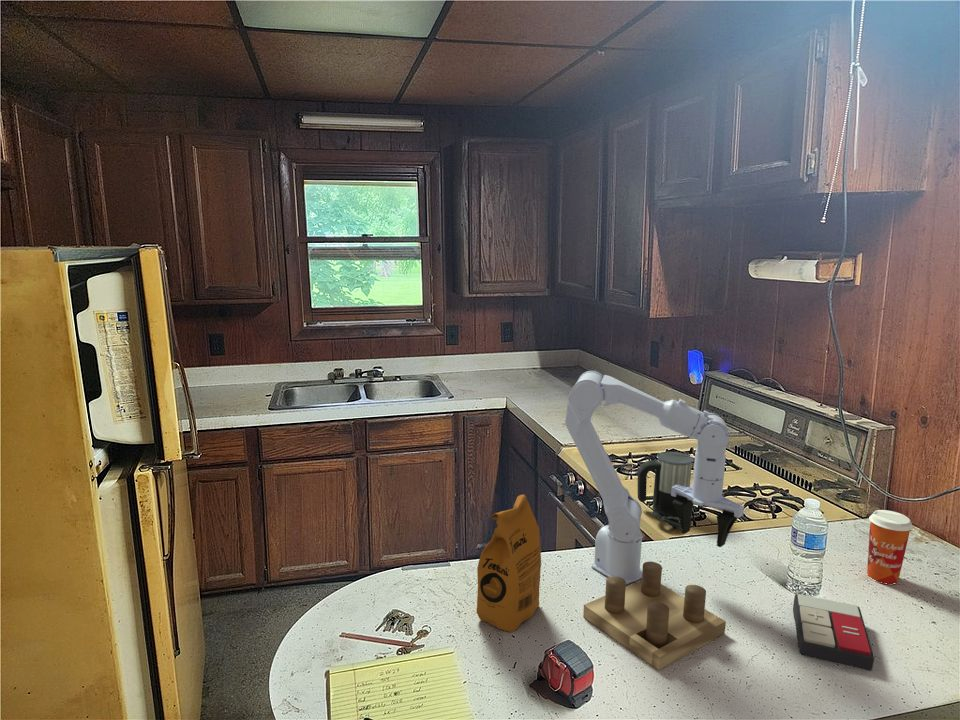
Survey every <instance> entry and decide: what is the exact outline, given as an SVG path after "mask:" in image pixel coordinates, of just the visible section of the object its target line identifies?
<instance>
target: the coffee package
mask: <svg viewBox="0 0 960 720" xmlns="http://www.w3.org/2000/svg"><path fill="white" fill-rule="evenodd" d="M491 519H492V520H496V525H497V526H496V528H494V531H493V532H492V533H493V534H492V536H491V539H490V541H488V542H487V543H486V545H485V547H484V548H483V550H482V551H481V554H480V556H479V559H478V563H477V567H476V568H477V569H476V570H477V573H476V574H477V596H476V611H475V612H476V615H477V616H478V617H477V618H478V619H479V620H480V621H481V622H483V621H484V622H485V623H487V624H489V625H491V626H493V625H494V626H495V627H497V629H499V630H500V631H505V632H509V631H510V633H513V632H516V630H517V629H518V628H519V626H521V624H522V623H523V622H524V621H528V620H530V619H531V618H532V617H533V615H534V614H535V612H536V611H537V608H538V607H539V606H540V583H541V569H542V553H541V552H542V547H541V544H542V543H541V536H540V535H541V534H540V527H539V525H538V523H537V522H538V521H537V519H536V517H535V516H534V513H533V510H532V508H531V506H530V503H529V501H528V499H527V496H526V495H525V494H519V495H518V496H517V497H516V500H515V502H514V504H513V508H510V509H507V510H502V511H499V512H495V513H493V514H492V515H491Z"/></svg>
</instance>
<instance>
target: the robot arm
mask: <svg viewBox="0 0 960 720" xmlns="http://www.w3.org/2000/svg"><path fill="white" fill-rule="evenodd" d="M603 401H604V407H607V406H608V407H609V406H612V405H615V404H623V405H624V406H628V407H631V408H633V409H635V410H638V411H640V412H643V413H646V414H649V415H651V416H654V417H656V418H658V420H659V423H660V425H661V427H664V428H667V429H668V430H670V431H671V430H672V431H673V432H676V433H678V434H680V435H683V436H685V437H688V438H689V439H693V440H694V439H695V440H697V443H696V450H695V453H694V461H693V462H694V463H693V473H692V474H693V475H692V486H691V487H690V488H689V487H684V486H680V485H675V486H673V487H672V490H671V496H674V497H676V498H675V500H673V505H674V507H675V509H676V511H677V514H678V516H679V517H678V519H679V520H680V524H681V533H682V534H684V535H685V534H688V533H689V532H690V530H691V527H692V515H693V509H694V505H697V506H699V507H703V506H706V507H709V508H712V509H715V510H718V511H720V512H721V513H719V514H718V515H716V521H717V536H716V537H717V538H716V539H717V540H716V546H717V547H719V548H721V547H723V546H724V545H726V541H727V539H728V536H729V533H730V531H731V529H732V527H733V526H734V524H735V523H736V521H737V520H738V519H740V518H741V517H743V516H744V512H745V505H742V504H739V503H738V502H735V501H733V500H731V499H729V498H727V497H725V496H723V490H724V481H725V479H724V477H725V468H726V456H727V455H726V451H727V450H726V449H727V446H728V445H729V443H730V439H731V438H730V435H729V431H728V430H729V429H728V426H727V423H726V422H725V420H724V418H722V417H721V416H719V415H718V414H716V413H715V412H709V411H707V410H703V411H701V410H699V409H697V408H695V407H692V406H689V405H687V404H686V403H687V401H685V400H683V399H681V398H679V400H675V399H670V400H667V401H662V400H661V399H658V398H657V397H654V396H652V395H650V394H648V393H645V392H644V391H642V390H639V389H637V388H636V387H634V386H631V385H629V384H627V383H626V382H623V381H622V380H621V381H620V380H619V379H617V378H615V377H613V376H610V375H607V374H604V375H603V374H601V372H598V371H597V370H587V371H585V372H583V373H581V374H580V375H579V377H578V379H577V381H576V383H575V384H574V385H573V386H572V389H571V390H570V392H569V394H568V396H567V406H566V413H565V414H566V415H565V423H564V424H565V427H566V429H567V430H568V433H569V435H570V437H571V439H572V441H573V443H574V444H575V447H576V448H577V451H578V453H579V455H580V457H581V459H582V462H584V465H585V467H586V469H587V471H588V473H589V475H590V476H591V478H592V481H593V482H594V485H595V487H596V489H597V490H598V493H599V495H600V497H601V499H602V503H603V508H604V513H605V515H606V517H607V520H608V524H607V525H606V524H605V525H604V526H602V527H601V528H600V529H599V530H598V532H597V534H596V537H595V540H594V541H595V543H594V544H595V545H594V547H595V548H594V561H593V563H592V564H591V567H592V569H594V570H596V571H598V572H599V573H601V574H603V575H604V576H605V577H607V578H608V577H612V576H616V577H620V578H622V579H624V580H625V581H626V586H628V585H630V584H633V583H635V582H637V581H640V580H642V570H643V568H641V559H642V543H643V532H642V531H641V517H642V513H643V510H642V509H643V508H642V506H641V504H640V501H637V500H636V499H635V498H634V497H633V496H632V495H631V494H630V492H629V489H627V488H626V487H625V486H624V484H623V483H622V481H621V479H620V477H619V475H618V473H617V471H616V468H614V465H613V464H612V461H611V459H610V458H609V455H608V453H607V451H606V449H605V447H604V445H603V443H602V442H601V441H602V440H600V437H599V435H598V433H597V432H596V431H597V430H596V429H595V427H594V425H593V422H592V421H591V419H592V417H593V414H594V412H595V411H596V410H597V408H599V406H601V404H602V402H603Z"/></svg>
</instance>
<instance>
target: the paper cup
mask: <svg viewBox="0 0 960 720" xmlns="http://www.w3.org/2000/svg"><path fill="white" fill-rule="evenodd" d="M868 520H869V521H870V524H869V535H868V552H867V565H866V567H867V568H866V569H867V571H866V574H868V575H867V577H868V576H869V577H871V578H872V579H874V580H876V581H878V582H882V583H887V584H893V583H897V584H898V582H899V579H900V575H901V572H902V571H901V570H902V568H903V567H902V566H903V563H904V559H905V553H906V550H907V546H908V545H907V544H908V541H909V536H910V533H911V530H913V529H914V526H913V525H912V524H913V523H912V521H911V519H910V518H909V517H907V515H904V514H903V513H900V512H897V511H893V510H886V509H877V510H875V511H874V512H873V513H871V515H870V516H869V517H868ZM869 577H868V578H869ZM872 579H871V580H872ZM876 581H875V582H876ZM878 582H877V583H878Z"/></svg>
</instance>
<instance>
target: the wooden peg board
mask: <svg viewBox="0 0 960 720" xmlns="http://www.w3.org/2000/svg"><path fill="white" fill-rule="evenodd" d="M642 569H643V570H642V578H641V579H639V580H637V581H635V582H632V583H630V584H628V585H626V581H625V580H624V579H622V578H620V577H616V576H612V577H607V578H606V579H605V594H604V595H603V596H601V597H599V598H597V599H594V600H592V601H590V602H587V603H585V604H583V613H582V614H583V615H582V617H583V618H584V619H585V620H587V621H589V623H591V624H593V625H594V626H596V627H597V628H598V629H600V630H601V631H602V632H604V633H605V634H607V636H609V637H611V638H612V639H614V640H615V641H616V642H618V643H620V645H622V646H623V647H625V648H626V649H628V650H629V651H630V652H632V653H634V654H635V655H636V656H637V657H639V658H640V659H642V660H644V661H645V662H646V663H648V664H649V665H650V666H652V667H653V668H654V669H656V670H657V671H661V670H663V669H665V668H666V667H667V666H670V665H671V664H673V663H674V662H676V661H678V660H680V659H682V658H684V657H685V656H687V655H688V654H690V653H692V652H694V651H696V650H698V649H699V648H701V647H703V646H705V645H707V644H708V643H710V642H712V641H714V640H715V639H717V638H720V637H721V636H722V635H724V634H725V632H726V623H727V621H726V620H724V619H723V618H722V617H719V616H718V615H717V614H714V613H712V612H710V611H709V610H708V609H706V608H705V607H706V600H707V598H706V597H707V591H706V589H705V588H704V587H703V586H701V585H697V584H687V585H686V586H685V588H684V596H683V595H681V594H679V593H677V592H676V591H674V590H672V589H671V588H669V587H667V586H665V585H663V584H662V571H663V567H662V565H661V564H660V563H658V562H655V561H645V562H643V564H642ZM651 602H661V603H664V604H666V605H667V606H668V607H669V621H668V635H667V645H665V646H663V647H661V648H660V649H658V648H656V647H655V646H653V645H652V644H650V643H649V642H647V641H646V625H647V609H648V604H649V603H651Z"/></svg>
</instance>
